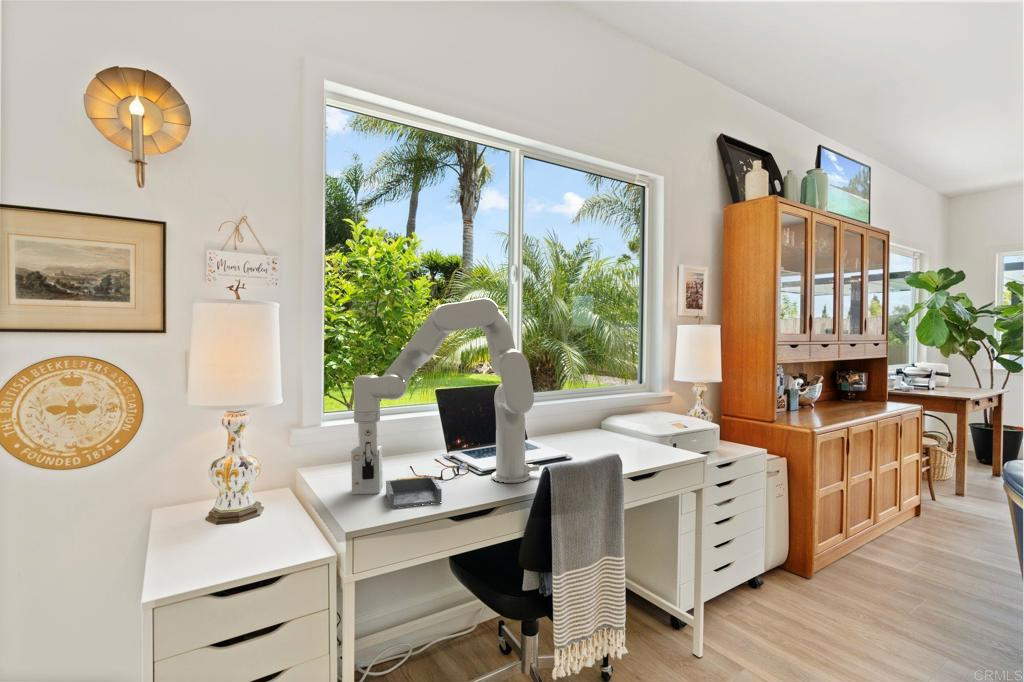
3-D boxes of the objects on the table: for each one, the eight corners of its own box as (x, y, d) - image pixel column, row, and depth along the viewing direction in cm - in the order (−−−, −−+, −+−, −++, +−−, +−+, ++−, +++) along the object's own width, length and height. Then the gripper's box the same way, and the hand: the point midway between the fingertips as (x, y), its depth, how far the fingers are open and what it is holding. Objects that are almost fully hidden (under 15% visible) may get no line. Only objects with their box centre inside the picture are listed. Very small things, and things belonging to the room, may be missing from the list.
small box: (382, 487, 156) (382, 445, 156) (379, 494, 150) (379, 450, 149) (355, 488, 155) (355, 445, 155) (351, 494, 149) (350, 450, 149)
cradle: (433, 489, 154) (433, 475, 154) (441, 503, 141) (441, 487, 141) (386, 494, 149) (385, 479, 149) (390, 508, 137) (390, 493, 137)
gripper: (382, 420, 145) (382, 482, 145) (378, 411, 161) (378, 467, 162) (354, 422, 143) (355, 484, 143) (353, 412, 159) (353, 469, 159)
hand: (367, 475), depth 152 cm, fingers closed on small box, 7 cm apart
